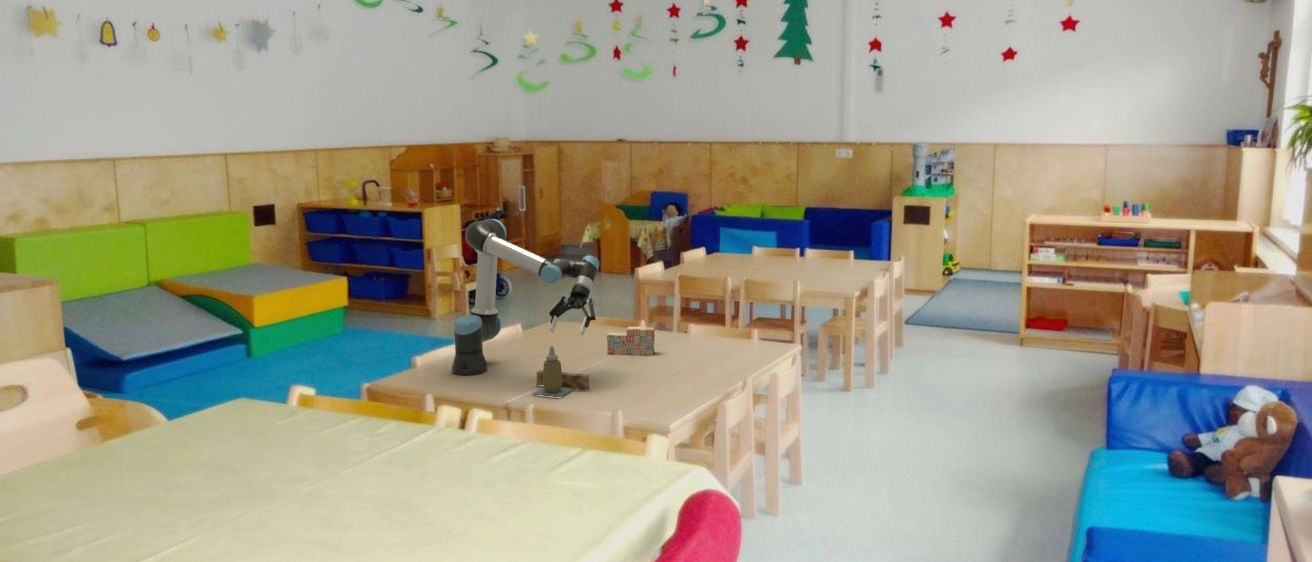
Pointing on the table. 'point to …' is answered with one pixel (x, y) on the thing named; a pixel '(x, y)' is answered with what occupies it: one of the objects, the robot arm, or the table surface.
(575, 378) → the walnut rail
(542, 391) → the grey rubber pad
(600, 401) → the table surface
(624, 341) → the stack of blocks
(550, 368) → the squeeze bottle
